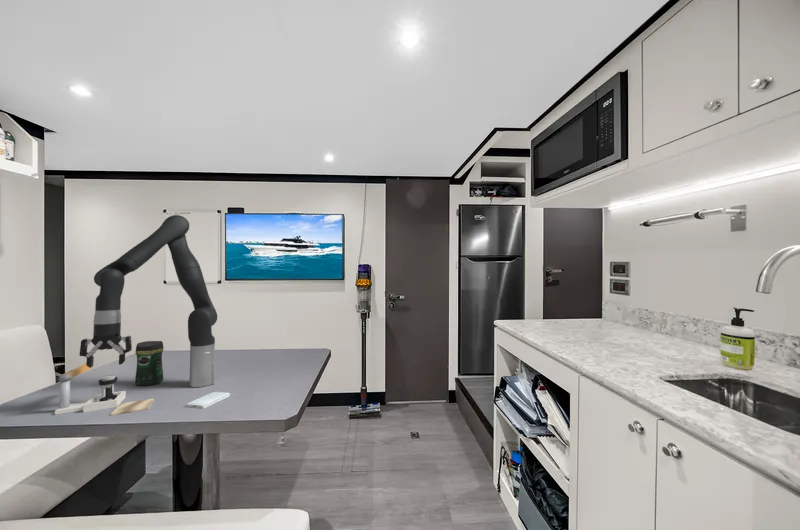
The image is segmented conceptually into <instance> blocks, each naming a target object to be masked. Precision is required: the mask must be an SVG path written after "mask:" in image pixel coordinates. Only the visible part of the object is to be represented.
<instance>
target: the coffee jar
mask: <svg viewBox="0 0 800 530" xmlns="http://www.w3.org/2000/svg"><path fill="white" fill-rule="evenodd" d="M164 350H165V349H164V342H163V341H162V340H148V341H142V342H138V343H136V347H135V355H136V370H135V379H134V383H135V386H149V385H154V384H155V385H156V384H160V383H161V382H163V380H164V369H163V358H162V357H163V352H164Z"/></svg>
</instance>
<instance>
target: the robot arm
mask: <svg viewBox="0 0 800 530" xmlns="http://www.w3.org/2000/svg"><path fill="white" fill-rule="evenodd" d="M189 230H190V222H189V221H188V218H186V217H185V216H183V215H180V214H174V215H173V214H172V215H170V216H168V217H167V218H165V219H164V221H163V222H162V224H161V225H160V226H159V227H158V228H157V229H156V230H155V231H154V232H152V233H151V234H149V236H147V237H146V238H145V239H143V240H142V241H141V242H139V243H137V244H136V245H135V246H133V247H132V248H130V249H129V250H128V251H127V252H125V253H123V254H122V255H121V256H120V257H118V258H117V259H116V260H114V261H112V262H111V263H108V264H107V265H105V266H104V267H102V268H101V269H99V270H98V271H97V272H96V273H95V274H94V276H93V281H94V283H95V285H97V286H98V287H100V288H99V294H98V295H97V296H96V298H95V304H94V305H95V306H94V307H95V308H94V315H93V320H92V321H93V333H92V334H93V335H92V336H93V337H92V338H83V339H81V341H80V347H79V353H78V354H79V356H80V357H84V358H85V359H86V365H87V366H88V367H89V368H90V367H92V368H93V367H94V361H95V360H94V359H95V358H94V357H95V356H94V354H95V353H96V352H98V350H100V351H103V350H112V349H113V350H115V351H116V352H118V354H119V355H118V365H123V364H124V363H125V361H126V354H127V353H129V352H131V351H132V349H133V348H132V344H133V343H132V336H131V335H128V336H127V335H126V336H122V335H121V334H122V333H121V330H122V328H121V327H122V326H121V324H122V313H121V312H122V311H121V309H122V307H121V304H122V303H121V298H122V295H123V292H124V291H123V290H124V287H125V276H127V275H128V274H130V273H133V272H135V271H137V270H138V269H139V268H141V266H143V265H144V264H146V263H147V262H148V261H149V260H150V259H151V258H153V257H154V256H155V255H156V254H157V253H158V252H159V251H161V249H162V248H163V247H165V246H166V245H167V247H168V249H169V251H170V256H171V260H172V262H173V265H174V271H175V274H176V276H177V280H178V282H179V284H180V286H181V288H182V289H183V290H184V292H185V294H187V296H188V297H189V298H190V300H191V303H192V305H193V309H194V310H192V311H191V312H190V313H189V315H188V317H187V336H188V340H189V387H191V388H203V387H207V386H210V385H215V382H216V375H215V374H216V360H215V358H216V357H215V356H216V355H215V353H216V351H215V350H216V349H215V347H216V339H215V336H213V331H212V330H213V329H212V326H214V325H215V324H216V323H217V321H218V313H217V311H216V308H215V305H214V304H213V302H212V300H211V298H210V294H209V292H208V288H207V285H206V282H205V278H204V276H203V272H202V268H201V265H200V264H199V261H198V260H197V258H196V257H195V256H194V254H193V253H192V251H191V249H190V248H189V246H188V240H187V237H186V234H187V233H188V231H189ZM121 341H123V343H124V344H125V348H123V346H122V345H121ZM90 344H92V345H94V346H93V347H92V348H91V349H90V350H89V352H88V345H90ZM90 369H91V368H90Z"/></svg>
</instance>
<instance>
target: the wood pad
mask: <svg viewBox="0 0 800 530" xmlns="http://www.w3.org/2000/svg"><path fill="white" fill-rule="evenodd" d="M154 401H155V399H154V398H148V399H142V400H134V401H129V402H128V401H127V402H121V403H120V404H119V405H118V406H117V407H115V409H114V410H112V412H111V413H110V416H116V415H117V416H118V415H122V414H128V413H129V414H130V413H134V412H140V411H147V410H149V409H150V406H151V405H152V404H153V402H154Z"/></svg>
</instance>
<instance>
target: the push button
mask: <svg viewBox="0 0 800 530" xmlns="http://www.w3.org/2000/svg"><path fill="white" fill-rule="evenodd" d="M117 382H118V377H117V376H116V375H114V374H112V375H111V374H109V375H104V376H102V377H101V379H99V380H98V385H99V386H101V394H102V396H101V397H102V398H100V399H99V402H102V401H109V400H114V399H115V398H116V397H117V395H115V394H114V392H115V384H116V383H117Z"/></svg>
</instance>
